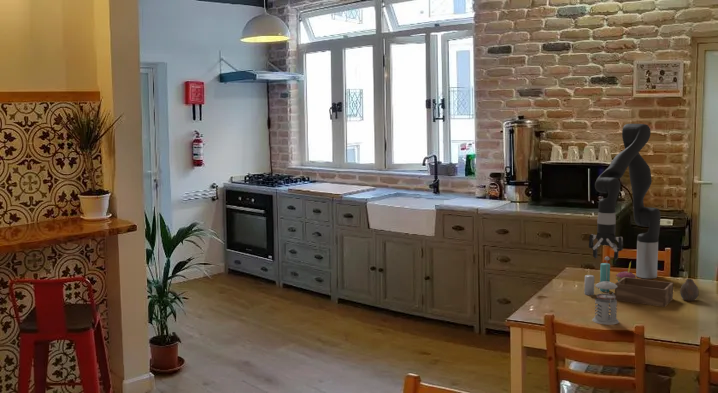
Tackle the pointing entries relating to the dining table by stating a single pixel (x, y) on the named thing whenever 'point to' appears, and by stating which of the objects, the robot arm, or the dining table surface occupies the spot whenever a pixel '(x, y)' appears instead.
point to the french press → (606, 303)
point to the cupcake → (625, 274)
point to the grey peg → (589, 285)
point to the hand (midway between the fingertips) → (605, 258)
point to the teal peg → (604, 274)
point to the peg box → (644, 291)
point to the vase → (689, 290)
